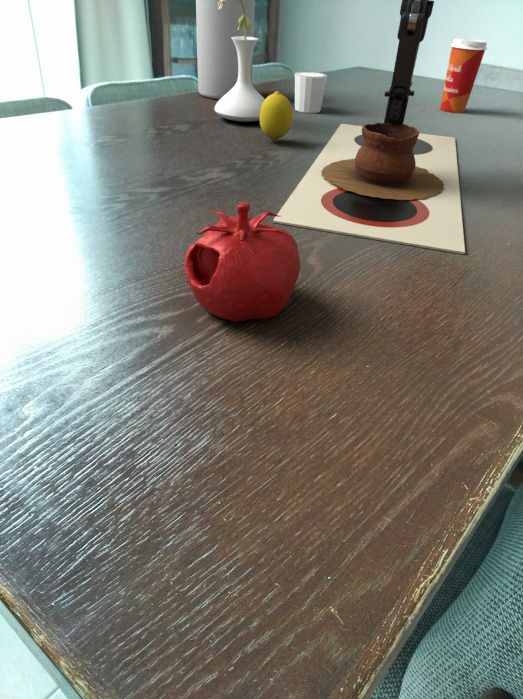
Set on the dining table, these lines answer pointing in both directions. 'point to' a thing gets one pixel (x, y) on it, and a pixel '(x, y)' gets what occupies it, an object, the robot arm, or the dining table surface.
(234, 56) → the cylinder vase
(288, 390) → the dining table surface
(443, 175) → the cooktop
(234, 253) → the red tomato
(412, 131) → the ceramic pot
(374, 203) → the front burner
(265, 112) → the lemon
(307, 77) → the shot glass
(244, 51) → the flower in vase
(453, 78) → the paper cup
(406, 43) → the robot arm
